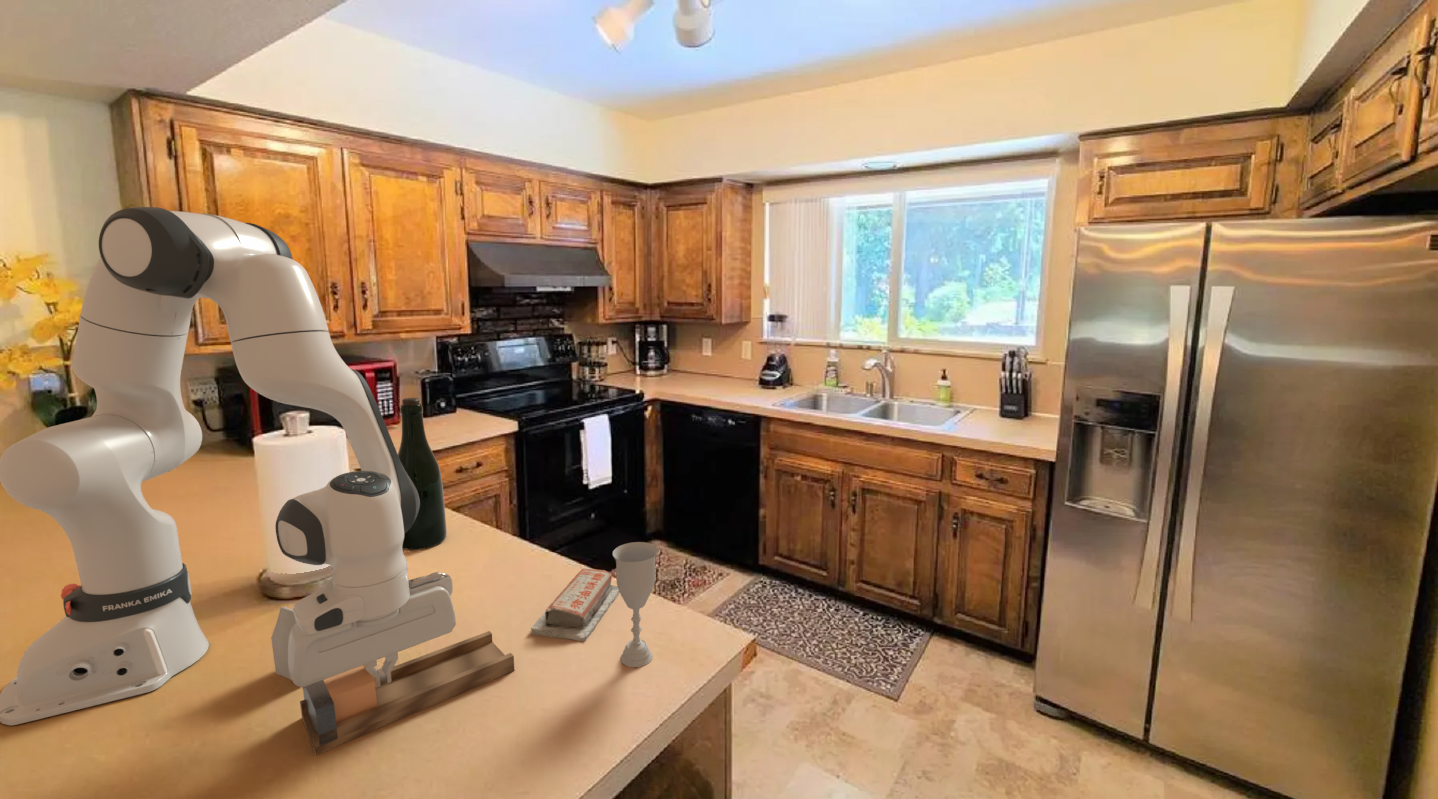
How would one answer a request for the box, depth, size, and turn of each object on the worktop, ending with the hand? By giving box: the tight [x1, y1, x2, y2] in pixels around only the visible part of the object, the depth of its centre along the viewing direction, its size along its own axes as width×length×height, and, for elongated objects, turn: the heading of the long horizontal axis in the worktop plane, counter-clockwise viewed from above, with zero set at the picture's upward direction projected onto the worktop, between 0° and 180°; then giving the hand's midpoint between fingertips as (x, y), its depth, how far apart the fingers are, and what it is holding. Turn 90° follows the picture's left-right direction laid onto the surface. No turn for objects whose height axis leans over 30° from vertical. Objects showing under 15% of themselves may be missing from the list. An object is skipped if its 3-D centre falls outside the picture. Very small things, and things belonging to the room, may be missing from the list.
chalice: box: [612, 541, 659, 668], centre depth 97 cm, size 7×7×18 cm
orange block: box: [323, 665, 377, 723], centre depth 84 cm, size 5×6×5 cm
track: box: [299, 630, 515, 755], centre depth 89 cm, size 26×9×2 cm, turn 133°
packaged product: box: [530, 568, 620, 642], centre depth 112 cm, size 18×5×10 cm
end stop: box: [302, 680, 338, 746], centre depth 81 cm, size 2×9×5 cm, turn 43°
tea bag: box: [271, 605, 296, 681], centre depth 93 cm, size 4×7×10 cm, turn 67°
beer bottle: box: [397, 397, 448, 551], centre depth 137 cm, size 10×10×33 cm
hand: (382, 683), depth 86 cm, fingers closed
